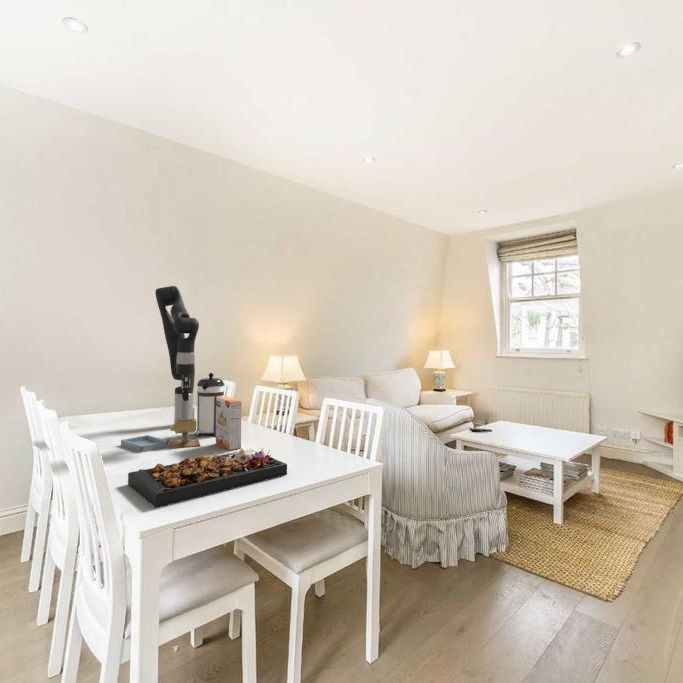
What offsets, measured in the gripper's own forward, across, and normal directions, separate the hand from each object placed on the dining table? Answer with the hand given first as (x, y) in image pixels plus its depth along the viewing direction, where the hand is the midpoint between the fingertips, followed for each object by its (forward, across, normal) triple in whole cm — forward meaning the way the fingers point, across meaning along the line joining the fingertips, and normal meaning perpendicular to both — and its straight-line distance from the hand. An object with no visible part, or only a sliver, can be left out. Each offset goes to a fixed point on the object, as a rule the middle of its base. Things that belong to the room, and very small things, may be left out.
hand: (185, 399), depth 188 cm
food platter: (+21, +51, +6) cm, 56 cm away
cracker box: (+20, +10, +17) cm, 28 cm away
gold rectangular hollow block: (+13, 0, 0) cm, 13 cm away
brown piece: (+20, 0, 0) cm, 20 cm away
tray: (+20, -2, -16) cm, 26 cm away
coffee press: (+20, -18, +13) cm, 30 cm away
